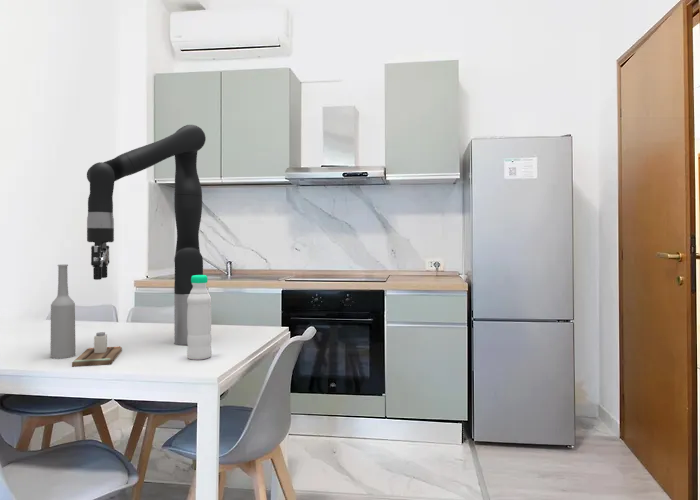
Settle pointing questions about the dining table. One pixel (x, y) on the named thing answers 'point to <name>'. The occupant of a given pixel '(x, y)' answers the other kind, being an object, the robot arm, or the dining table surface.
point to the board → (97, 357)
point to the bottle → (62, 319)
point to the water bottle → (199, 319)
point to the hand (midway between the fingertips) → (100, 278)
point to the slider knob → (100, 342)
